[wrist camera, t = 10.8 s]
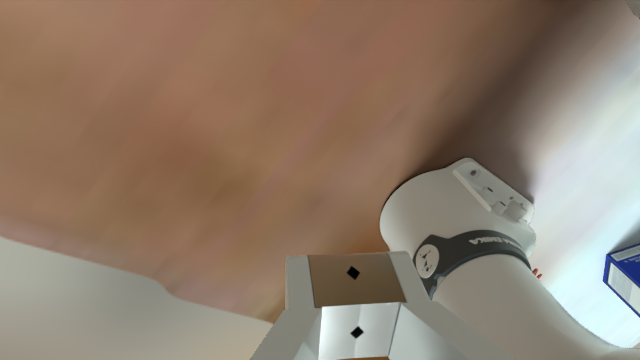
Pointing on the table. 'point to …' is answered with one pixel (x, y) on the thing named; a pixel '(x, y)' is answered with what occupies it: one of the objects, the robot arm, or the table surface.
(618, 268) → the milk carton
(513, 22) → the table surface
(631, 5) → the chalice
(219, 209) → the table surface
